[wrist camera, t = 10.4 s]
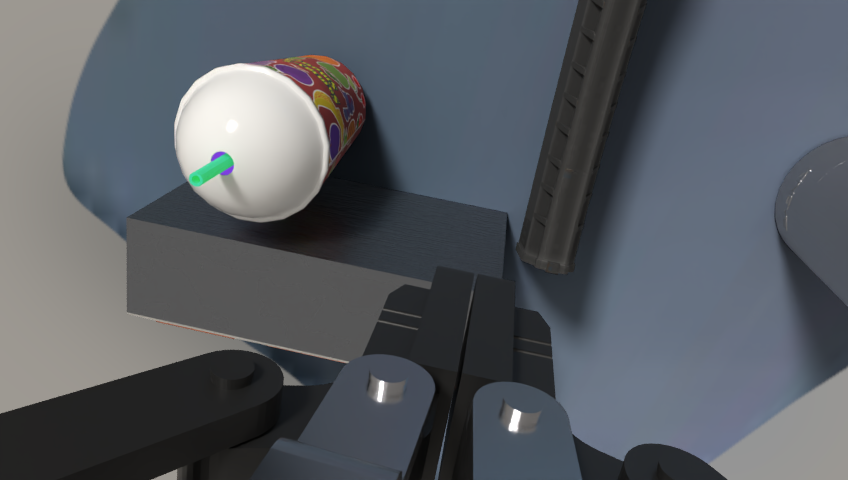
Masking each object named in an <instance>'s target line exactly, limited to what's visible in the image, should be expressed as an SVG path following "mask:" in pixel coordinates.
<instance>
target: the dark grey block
mask: <svg viewBox="0 0 848 480" xmlns="http://www.w3.org/2000/svg"><path fill="white" fill-rule="evenodd" d="M506 223H507V213H506V212H501V211H496V210H491V209H486V208H481V207H476V206H471V205H466V204H462V203H457V202H452V201H447V200H442V199H437V198H432V197H427V196H422V195H417V194H412V193H407V192H402V191H397V190H393V189H388V188H383V187H378V186H373V185H368V184H363V183H358V182H353V181H348V180H343V179H338V178H333V177H327V179H326V180H325V181H324V183H323V184H322V186H321V188H320V191H319V193H318V194H317V195H316V196H315V197H314V198H313V199H312V200H311V201H310V202H309V203H308V205H307V206H306V207H305V208H304V209H302V210H300V211H299V212H297V213H295V214H293V215H291V216H289V217H287V218H285V219H283V220H276V221H270V222H263V223H260V222H253V221H247V220H240V219H237V218H235V217H232V216H230V215H228V214H226V213H224V212H222V211H220V210H218V209H216V208H215V207H213V206H211V205H209V204H208V203H207V202H206V201H205V200H204V199H202V198H201V197H200V196H199V195H198V194H197V193H195V192H194V190H193V189H192V187H191V186H190V184H189V183H188V181H187V182H186V183H184V184H182V185H181V186H179V187H177V188H176V189H174V190H172V191H171V192H169V193H167V194H165V195H164V196H162V197H160V198H159V199H157V200H155V201H154V202H152V203H150V204H149V205H147V206H145V207H144V208H142V209H140V210H139V211H137V212H135V213H134V214H132V215H130V216H128V217H127V312H128V315H133V316H137V317H142V318H146V319H151V320H155V321H160V322H164V323H169V324H173V325H178V326H182V327H187V328H191V329H196V330H200V331H205V332H209V333H214V334H218V335H223V336H227V337H232V338H236V339H241V340H245V341H250V342H254V343H259V344H263V345H268V346H272V347H277V348H281V349H286V350H290V351H295V352H299V353H304V354H308V355H313V356H317V357H322V358H326V359H331V360H335V361H340V362H344V363H349V362H350V361H352V360H354V359H355V358H358V357H361V356H362V355H363V353H364V351H365V349H366V346H367V344H368V342H369V339H370V337H371V335H372V332H373V330H374V328H375V325H376V323H377V322H378V318H379V316H380V314H381V312H382V310H383V307H384V305H385V302H386V300H387V298H388V295H389V294H390V293H391V292H393V291H395V290H396V289H398V288H400V287H401V286H403V285H404V284H407V285H412V286H417V287H421V288H426V289H430V288H431V285H432V281H433V278H434V275H435V272H436V268H437V266H443V267H448V268H452V269H457V270H462V271H467V272H472V273H474V279H473V285H472V290H471V296H470V302H469V308H468V314H467V320H468V315H469V311H470V306H471V301H472V297H473V292H474V287H475V283H476V279H477V275H478V274H482V275H486V276H491V277H496V278H501V279H502V278H503V264H504V250H505V236H506ZM467 320H466V325H467ZM466 325H465V329H466ZM464 334H465V331H464ZM463 339H464V337H463Z"/></svg>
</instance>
